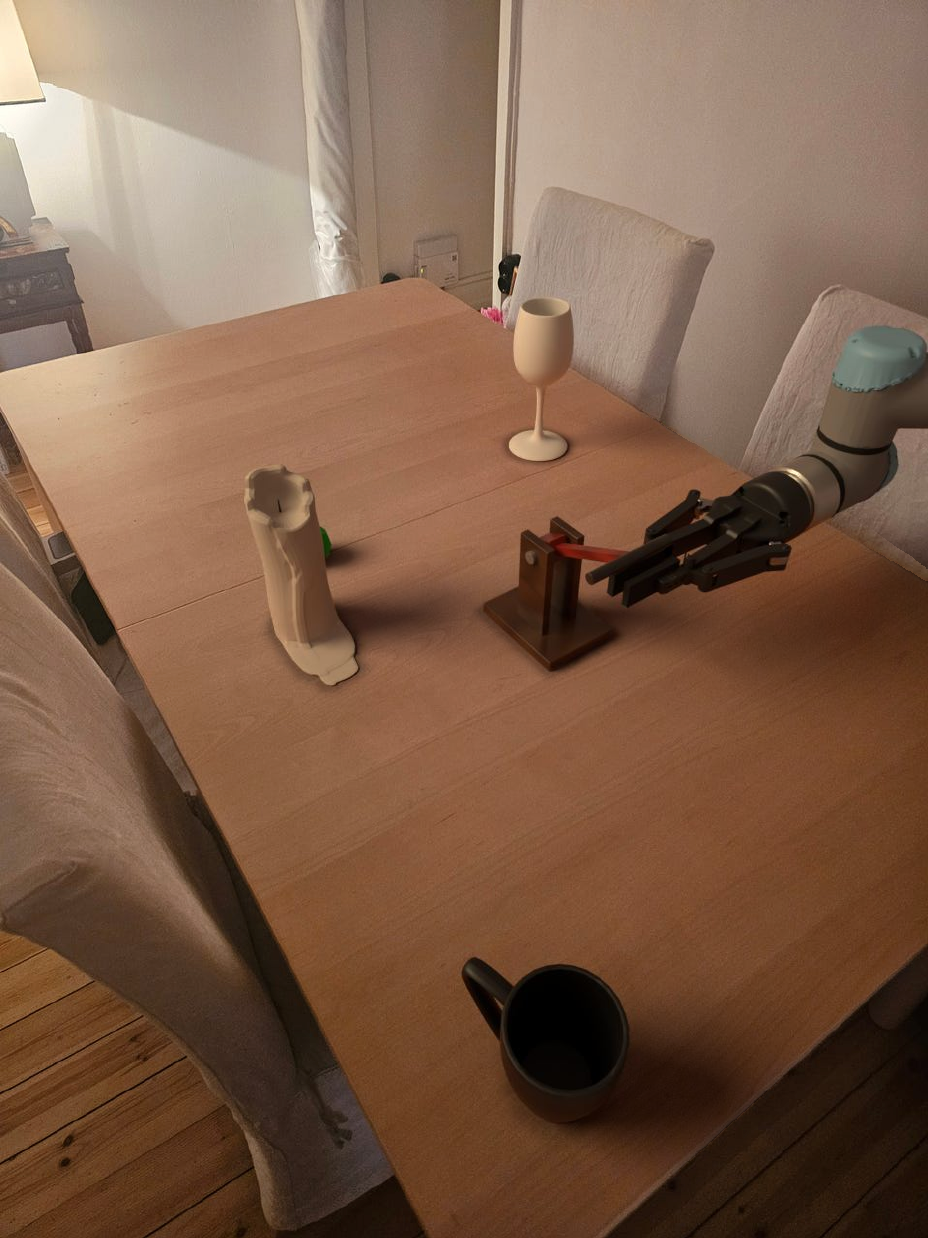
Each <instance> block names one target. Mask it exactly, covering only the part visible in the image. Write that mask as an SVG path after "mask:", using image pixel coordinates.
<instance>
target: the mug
mask: <svg viewBox="0 0 928 1238" xmlns="http://www.w3.org/2000/svg"><path fill="white" fill-rule="evenodd" d="M461 978H462V981H463V983H464V986H465V988H466V989H467V992H468V994H469V995H470V997H471V999H472V1000H473V1002H474V1004H475V1006H476V1008H477V1009H478V1011H479V1012H480V1015H481V1016H482V1017H483V1019H484V1020H485V1022H486V1024H487V1025H488V1027H489V1028H490V1030H491V1031H492V1033H493V1034H494V1036H495V1038H496V1039H497V1040H498V1041H499V1049H500V1056H501V1063H502V1067H503V1070H504V1072H505V1075H506V1078H507V1081H508V1083H509V1085H510V1086H511V1089H512V1090H513V1092H514V1093H515V1095H516V1097H517V1098H518V1099H519V1101H521V1103H522V1104H523V1105H524V1106H525V1107H526V1108H527V1109H528V1110H529V1111H531V1112H532V1113H533V1114H534V1115H535V1116H537V1117H538V1118H540V1119H541V1120H544V1121H546V1122H549V1123H554V1124H555V1123H556V1124H562V1123H569V1122H574V1121H577V1120H579V1119H582V1118H584V1117H587V1116H589V1115H590V1114H591V1113H593V1112H594V1111H595V1110H597V1109H598V1108H600V1107H601V1106H602V1105H603V1104H604V1103H605V1102H606V1100H607V1099H608V1098H609V1097H610V1095H611V1094H612V1093H613V1091H614V1090H615V1089H616V1087H617V1085H618V1082H619V1080H620V1079H621V1076H622V1073H623V1071H624V1067H625V1065H626V1061H627V1058H628V1055H629V1048H630V1043H631V1040H630V1037H631V1036H630V1025H629V1021H628V1017H627V1013H626V1011H625V1008H624V1005H623V1004H622V1002H621V1000H620V998H619V997H618V995H617V994H616V993H615V992H614V990H613V989H612V987H611V986H610V985H609V984H608V983H607V982H605V981H604V980H603V979H602V978H601V977H600V976H598V975H597V974H594V973H593V972H592V971H589V970H588V969H586V968H582V967H580V966H576V965H573V964H565V963H555V964H547V965H544V966H541V967H537V968H534V969H533V970H531V971H530V972H528V973H527V974H525V975H523V976H522V977H521V978H520V979H519V980H518V981H517V982H516V983H515V984H512V983H511V982H510V981H508V979H506V978H505V977H504V976H503V975H502V974H501V973H500V972H498V971H497V970H496V969H495V968H494V967H492V966H491V965H490V964H488V963H487V962H486V961H484V960H483V959H481V958H479V957H477V956H473V957H470V958H469V959H467V961H466V962H465V963H464V964H463V966H462V969H461ZM497 1001H498V1002H499V1003H500V1005H502V1008H501V1006H500V1005H499V1004H498V1002H497Z"/></svg>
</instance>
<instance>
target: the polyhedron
mask: <svg viewBox="0 0 928 1238" xmlns="http://www.w3.org/2000/svg"><path fill="white" fill-rule="evenodd" d="M319 526H320V530H321V534H322V539H323V547H324V556H325V559H327V558H328V557H329V555H330V553H331V549H332V542H331V540H330V537H329V535H328V532H327V530H326V528H324V527H323V526H321V525H319Z"/></svg>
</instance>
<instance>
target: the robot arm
mask: <svg viewBox="0 0 928 1238" xmlns="http://www.w3.org/2000/svg"><path fill="white" fill-rule="evenodd" d="M828 387H829V388H828V391H827V395H826V399H825V402H824V406H823V409H822V412H821V416H820V419H819V423H818V425H817V428H816V432H815V433H814V437H813V440H812V443H811V447H810V448H809V450H808V451H807V452H805V453H803V454H801V455H799V456H797V457H795V458H792V459H791V460H789V461H787V462H784V463H783V464H780V465H778V466H776V467H774V468H772V469H769V470H768V471H767V472H764V473H762V474H760V475H758V476H756V477H754V478H752V479H750V480H748V481H746V482H744V483H742V484H741V485H740V486H739V487H738V488H737V489H736V490H734V491H733V493H731V494H730V495H725V496H718V497H715V498H714V500H712V499H708V498H704V497H701V495H702V492H701V491H700V490H698V489H693V488H692V489H690V490H689V491H688V492H687V495H686V498H685V499H684V500H683V501H681V502H680V503H679V504H678V505H676V506H675V507H673V508H671V510H669V511H668V512H667V513H665V514H664V515H662V516H661V517H660V518H658V519H656V521H654V522H653V523H652V524H650V525H649V526H647V527H646V528H645V531H644V536H643V543H642V545H644V544H646V543H648V542H650V541H652V540H654V539H656V538H658V537H660V536H662V535H664V534H668V535H670V537H671V538H672V544H671V545H670V546H668V547H666V548H664V549H662V550H660V551H658V552H656V553H654V554H652V555H650V556H648V557H647V558H645V559H643V560H641V561H639V562H637V563H635V564H633V565H631V566H629V567H627V568H625V569H623V570H621V571H619V572H617V573H615V574H613V575H611V576H609V577H608V580H607V581H608V582H607V589H606V594H607V595H609V596H610V597H611V598H614V597H615V596H618V595H619V594H621V593H622V597H621V602H620V604H621V606H623V607H624V608H626V609H629V608H630V607H632V606H635V605H636V604H638V603H640V602H642V601H643V600H645V599H647V598H649V597H651V596H653V595H655V594H656V593H658V594H659V595H662V596H663V595H667V594H669V593H670V592H672V591H674V590H676V589H678V588H680V587H682V586H689V585H694V586H697V590H698V591H700V592H701V593H709V592H712V591H715V590H718V589H721V588H723V587H726V586H729V585H733V584H735V583H737V582H740V581H743V580H746V579H749V578H752V577H754V576H758V575H760V574H763V573H769V572H770V573H771V572H782V571H785V570H786V568H787V566H788V563H789V559H790V556H791V553H792V549H793V548H792V546H791V545H790V544H788V543H790V542H791V541H792V540H794V539H797V538H798V537H799V536H802V535H803V534H804V533H806V532H808V531H810V530H812V529H813V528H815V527H817V526H819V525H821V524H823V523H824V522H827V521H828V520H830V519H831V518H833V517H835V516H836V515H838V514H840V513H842V512H844V511H845V510H847V509H849V508H851V507H853V506H856V505H857V504H860V503H863V502H866V501H867V500H870V499H871V498H872V497H874V496H875V494H877V493H879V492H880V491H881V490H883V489H884V488H885V487H887V486H888V485H889V484H890V483H891V482H892V481H893V479H894V478H895V476H896V475H897V472H898V468H899V465H900V464H899V457H898V449H897V446H896V444H895V442H894V439H895V437H896V434H897V432H898V430H900V429H903V430H904V429H907V430H908V429H909V430H910V429H912V430H914V429H915V430H928V345H927V342H926V340H925V339H924V338H923V337H922V336H921V335H919V334H918V333H916V332H915V331H912V330H909V329H906V328H903V327H893V326H891V325H886V324H884V325H883V324H880V325H879V324H878V325H877V324H874V325H868V326H867V325H866V326H864V327H861V328H859V329H857V330H855V331H853V332H852V333H851V334H850V335H849V336H848V337H847V339H846V340H845V342H844V345H843V348H842V349H841V352H840V354H839V357H838V360H837V362H836V365H835V368H834V369H833V371H832V374H831V380H830V384H829V386H828ZM703 515H704V516H703ZM702 516H703V517H702ZM701 517H702V518H701ZM700 518H701V519H700ZM694 520H696V521H694ZM699 548H700V549H699ZM697 549H698V550H697ZM695 550H696V551H695ZM692 551H695V552H693V553H691V554H690V552H692ZM683 555H684V556H683ZM681 556H683V560H682V563H681V559H680V558H678V557H681Z"/></svg>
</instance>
